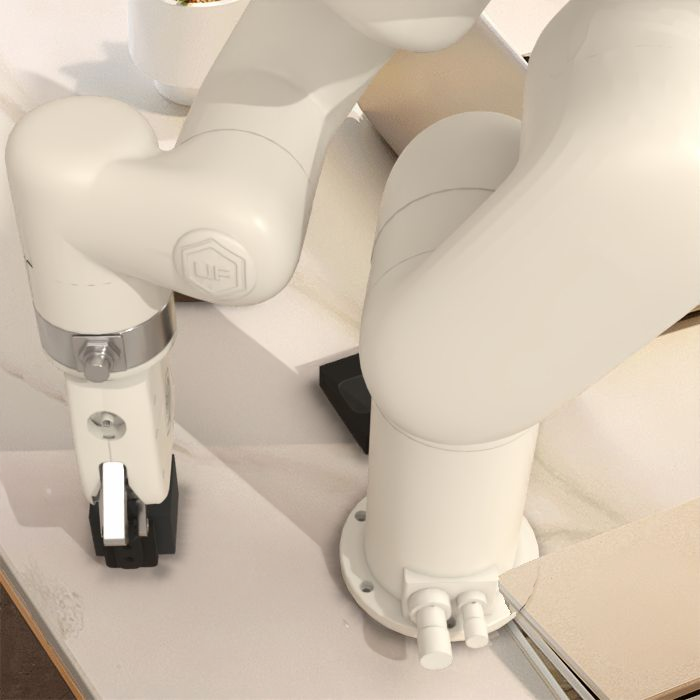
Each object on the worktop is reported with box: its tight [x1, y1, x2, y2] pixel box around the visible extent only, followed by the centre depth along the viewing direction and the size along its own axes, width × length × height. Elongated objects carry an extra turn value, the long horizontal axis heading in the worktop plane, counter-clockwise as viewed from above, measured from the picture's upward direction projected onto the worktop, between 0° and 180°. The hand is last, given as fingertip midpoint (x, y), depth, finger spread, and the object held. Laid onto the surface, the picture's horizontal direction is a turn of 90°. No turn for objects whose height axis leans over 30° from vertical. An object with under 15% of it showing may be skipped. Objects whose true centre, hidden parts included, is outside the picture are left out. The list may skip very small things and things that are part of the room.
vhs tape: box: [318, 352, 372, 455], centre depth 91 cm, size 8×14×2 cm, turn 116°
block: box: [88, 453, 180, 557], centre depth 81 cm, size 5×5×4 cm
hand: (136, 517), depth 82 cm, fingers open, 6 cm apart
